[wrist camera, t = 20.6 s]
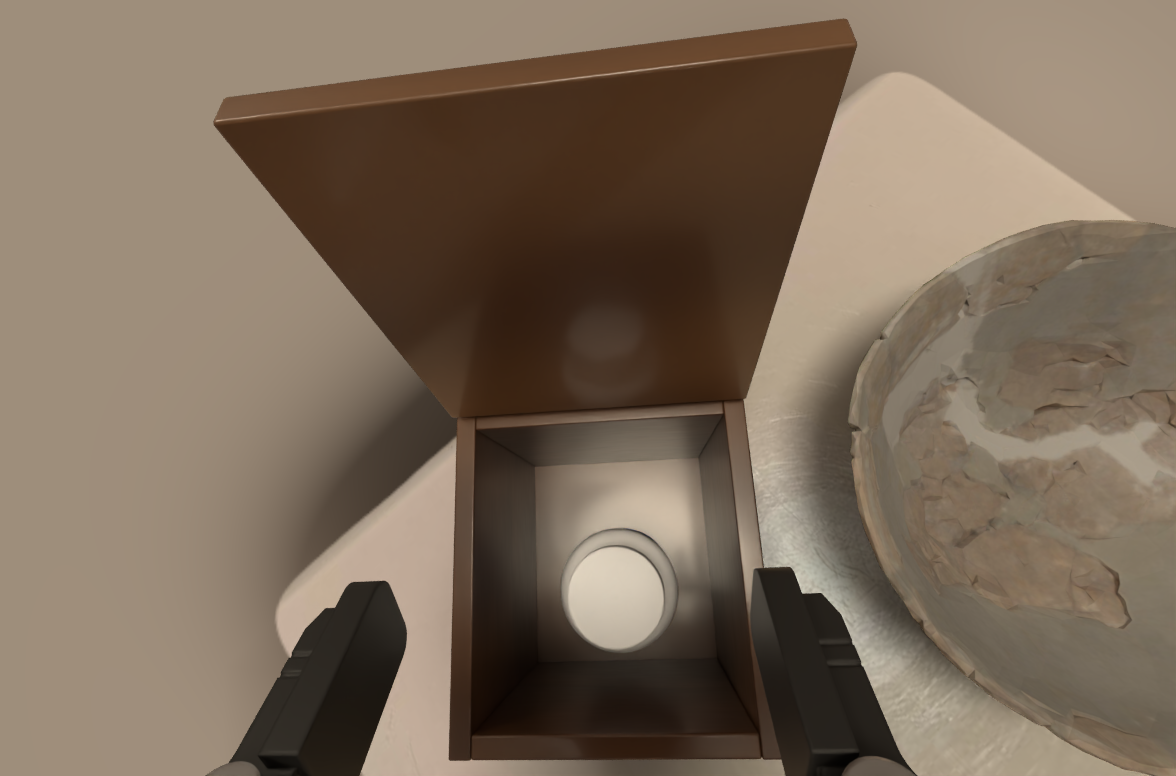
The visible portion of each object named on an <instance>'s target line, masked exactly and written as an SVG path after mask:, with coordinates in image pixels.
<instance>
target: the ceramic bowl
mask: <svg viewBox="0 0 1176 776" xmlns="http://www.w3.org/2000/svg"><path fill="white" fill-rule="evenodd" d="M848 424H849V426H850V428H852V429H854V432H852V439H851V449H850V453H851V456H852V458H853V459H852V460H851V463H852V469H853V475H854V484H855V491H856V497H857V503H858V509H859V512H860V516H861V519H862V523H863V526H864V529H865V533H866V535H867V537H868V540H869V542H870V544H871V547H872V549H873V551H874V554H875V556H876V559H877V561H878V563H879V566H880V568H881V569H882V571H883V572H884V573H885V574H886V576H887V577H888V580H889V582H890V584H891V585H892V586H893V588H894V589H895V590H896V592H897V593H898V595H899V596H900V597H901V599H902V600H903V601H904V603H905V605H906V606H907V608H908V610H909V612H910V614H911V615H912V617H913V618H914V619H915V620H916V621H917V622H918V623H919V625H920V626H921V628H922V629H923V631H924V632H925V634H926V635H927V636H928V637H929V638H930V639H931V640H932V641H933V642H934V643H935V645H936V646H937V647H938V648H939V650H940V651H941V652H942V654H943V655H944V656H945V657H946V658H947V659H948V660H949V661H950V662H951V663H952V664H954V665H955V666H956V667H957V668H958V669H959V670H960V671H961V672H962V673H963V674H964V675H965V676H967V677H969V678H970V679H971V680H972V681H974V682H975V683H976V684H977V685H978V686H980V687H981V688H982V689H983V690H985V691H986V692H987V693H988V694H989V695H991V696H992V697H993V698H994V699H996V700H997V701H999V702H1001V703H1002V704H1004V705H1006V706H1007V707H1009V708H1010V709H1012V710H1014V711H1015V712H1017V713H1019V714H1020V715H1022V716H1024V717H1026V718H1027V719H1029V720H1031V721H1032V722H1034V723H1036V724H1038V725H1040V726H1044V727H1046V728H1047V729H1049V730H1050V731H1051V732H1052V733H1054V734H1055V735H1056V736H1058V737H1059V738H1061V739H1062V740H1064V741H1066V742H1068V743H1069V744H1071V745H1073V746H1075V747H1076V748H1078V749H1080V750H1082V751H1083V752H1086V753H1088V754H1090V755H1092V756H1095V757H1097V758H1099V759H1102V760H1104V761H1106V762H1108V763H1111V764H1113V765H1115V766H1118V767H1120V768H1122V769H1125V770H1131V771H1137V772H1141V773H1144V774H1148V775H1152V776H1176V228H1173V227H1168V226H1164V225H1159V224H1155V223H1147V222H1137V221H1120V220H1105V221H1078V220H1070V221H1064V222H1059V223H1053V224H1047V225H1042V226H1039V227H1036V228H1033V229H1029V230H1026V231H1023V232H1020V233H1017V234H1014V235H1012V236H1009V237H1006V238H1004V239H1001V240H999V241H997V242H995V243H993V244H991V245H989V246H987V247H985V248H983V249H981V250H978V251H976V252H974V253H972V254H970V255H968V256H966V257H964V258H962V259H961V260H959V261H958V262H956V263H955V264H953V265H952V266H950V267H948V268H947V269H945V270H944V271H943V272H941V273H940V274H939V275H937V276H936V277H934V278H933V279H932V280H930V281H929V282H927V283H925V284H924V285H923V286H922V287H921V288H919V289H918V290H917V291H916V292H915V293H914V294H913V295H912V296H911V298H910V299H909V300H908V301H907V302H906V303H905V304H904V305H903V306H902V307H901V308H900V309H899V310H898V311H897V312H896V314H895V315H894V316H893V317H892V318H891V320H890V321H889V322H888V324H887V325H886V326H885V328H884V329H883V330H882V332H881V338H880V340H875V341H874V343H873V344H872V346H871V348H870V349H869V351H868V352H867V354H866V356H865V357H864V359H863V361H862V362H861V365H860V367H859V370H858V373H857V377H856V381H855V385H854V389H853V393H852V397H851V402H850V408H849V416H848Z"/></svg>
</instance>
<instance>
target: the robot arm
mask: <svg viewBox="0 0 1176 776" xmlns="http://www.w3.org/2000/svg"><path fill="white" fill-rule="evenodd" d="M750 623H751V633H752V639H753V645H754V649H755V653H756V657H757V661H758V665H759V669H760V673H761V678H762V682H763V686H764V690H765V694H766V698H767V702H768V706H769V710H770V714H771V718H772V722H773V726H774V730H775V735H776V739H777V743H778V747H779V751H780V755H781V759H782V763H783V767H784V771H785V775H786V776H917V775H916V774H915V773H914V772H913V771H912V769H911V768H910V767H909V766H908V764H907V763H906V762H905V760H904V758H903V757H902V755H901V754H900V752H899V750H898V748H897V745H896V743H895V741H894V738H893V736H892V734H891V731H890V729H889V726H888V724H887V722H886V719H885V717H884V715H883V712H882V710H881V708H880V705H879V703H878V700H877V698H876V696H875V693H874V691H873V689H872V686H871V684H870V682H869V679H868V677H867V674H866V672H865V670H864V667H862V665H861V660H860V658H859V656H858V653H857V651H856V648H855V646H854V645H853V644H852V639H851V637H850V634H849V632H848V630H847V627H846V625H845V623H844V620H843V618H842V615H841V614H840V613H839V612H838V611H837V610H836V608H835V607H834V606H833V605H832V604H831V603H830V602H829V601H828V600H827V599H826V598H825V597H824V595H823V594H822V593H812V594H802V593H801V590H800V587H799V584H798V582H797V579H796V576H795V574H794V571H793V570H792V568H791V567H775V568H755V569H754V571H753V581H752V596H751V611H750ZM406 640H407V631H406V625H405V622H404V619H403V617H402V614H401V612H400V609H399V607H398V604H397V602H396V599H395V597H394V595H393V592H392V590H391V587H390V585H389V583H388V582H386V581H369V582H352V583H350V584H349V585H348V586H347V587H346V588H345V590H344V592H343V594H342V596H341V598H340V599H339V601H338V603H337V605H336V607H335V608H325V609H324V610H323V611H322V613H321V614H320V615H319V616H318V617H317V618H316V619H315V620H314V621H313V622H312V623H311V624H310V625H309V626H308V627H307V628H306V629H305V630H304V632H303V634H302V636H301V637H300V639H299V641H298V643H297V644H296V646H295V648H294V650H293V652H292V656H291V658H289V659H288V660H287V662H286V664H285V666H284V668H283V669H282V671H281V676H280V678H277V680H276V682H275V683H274V686H273V687H272V689H271V691H270V693H269V694H268V696H267V698H266V699H265V701H264V703H263V705H262V707H261V708H260V710H259V712H258V714H257V715H256V718H255V719H254V721H253V723H252V724H251V726H250V728H249V730H248V731H247V733H246V735H245V737H244V739H243V740H242V742H241V744H240V746H239V748H238V749H237V751H236V753H235V754H234V756H233V757H232V759H231V760H230V761H229V763H228V764H225V765H223V766H221V767H219V768H217V769H215V770H213V771H212V772H210V773H209V774H207V775H206V776H359V775H360V772H361V770H362V767H363V764H364V762H365V759H366V756H367V753H368V751H369V748H370V745H371V742H372V740H373V737H374V734H375V732H376V729H377V726H378V723H379V721H380V718H381V715H382V712H383V710H384V707H385V704H386V702H387V699H388V696H389V693H390V691H391V688H392V685H393V682H394V680H395V677H396V674H397V672H398V669H399V666H400V663H401V661H402V658H403V655H404V652H405V648H406Z"/></svg>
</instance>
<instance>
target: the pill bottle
mask: <svg viewBox="0 0 1176 776" xmlns="http://www.w3.org/2000/svg"><path fill="white" fill-rule="evenodd" d="M677 599H678V588H677V579H676V575H675V571H674V568H673V566H672V564H671V562H670V560H669V558H668V557H667V555H666V554H665V552H664V551H663V550H662V549H661V547H660V546H659V545H658V544H657V542H655V541H654V540H653V539H652V538H651V537H649V536H648V535H646V534H644V533H642V532H639V531H637V530H633V529H626V528H614V529H607V530H603V531H600V532H597V533H595V534H593V535H591V536H589V537H588V538H586V539H585V540H584V541H583V542H581V543H580V544H579V545H578V546H577V547H576V548H575V550H574V551H573V552H572V554H571V555H570V557H569V558H568V560H567V562H566V565H565V567H564V570H563V574H562V579H561V600H562V605H563V608H564V611H565V614H566V617H567V619H568V621H569V623H570V624H571V626H572V627H573V628H574V630H575V631H576V632H577V633H578V634H579V635H580V636H581V637H582V638H583V639H584V640H585V641H586V642H588V643H589V644H591V645H593V646H594V647H597V648H599V649H601V650H604V651H608V652H613V653H627V652H633V651H637V650H640V649H642V648H644V647H646V646H648V645H650V644H651V643H653V642H654V641H656V640H657V639H658V638H659V637H660V636H661V635H662V634H663V633H664V631H665V630H666V629H667V627H668V626H669V624H670V622H671V620H672V618H673V616H674V613H675V610H676V605H677Z"/></svg>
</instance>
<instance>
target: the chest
mask: <svg viewBox="0 0 1176 776" xmlns="http://www.w3.org/2000/svg"><path fill="white" fill-rule="evenodd" d="M614 528H626V529H633V530H637V531H639V532H642V533H644V534H646V535H648V536H649V537H651V538H652V539H653V540H654V541H655V542H657V544H658V545H659V546H660V547H661V549H662V550H663V551H664V552H665V554H666V555H667V557H668V558H669V560H670V562H671V564H672V566H673V568H674V571H675V575H676V579H677V588H678V599H677V605H676V610H675V613H674V616H673V618H672V620H671V622H670V624H669V626H668V627H667V629H666V630H665V631H664V633H663V634H662V635H661V636H660V637H659V638H658V639H657V640H656V641H654V642H653V643H651V644H650V645H648V646H646V647H644V648H642V649H640V650H637V651H633V652H627V653H613V652H608V651H604V650H601V649H599V648H597V647H594V646H593V645H591V644H589V643H588V642H586V641H585V640H584V639H583V638H582V637H581V636H580V635H579V634H578V633H577V632H576V631H575V630H574V628H573V627H572V626H571V624H570V623H569V621H568V619H567V617H566V614H565V611H564V608H563V605H562V600H561V579H562V574H563V570H564V567H565V565H566V562H567V560H568V558H569V557H570V555H571V554H572V552H573V551H574V550H575V548H576V547H577V546H578V545H579V544H580V543H581V542H583V541H584V540H585V539H586V538H588V537H589V536H591V535H593V534H595V533H597V532H600V531H603V530H607V529H614ZM755 568H764V565H763V557H762V548H761V540H760V532H759V524H758V516H757V507H756V499H755V491H754V483H753V474H752V466H751V458H750V450H749V441H748V433H747V425H746V417H745V408H744V400H743V399H732V400H717V401H702V402H686V403H671V404H656V405H640V406H625V407H610V408H594V409H579V410H564V411H548V412H533V413H518V414H502V415H487V416H472V417H457V447H456V488H455V528H454V568H453V609H452V649H451V689H450V730H449V760H450V761H469V760H471V758H472V760H652V759H761V757H762V758H763V759H764V760H771V759H781V755H780V751H779V747H778V743H777V739H776V735H775V730H774V726H773V722H772V718H771V714H770V710H769V706H768V702H767V698H766V694H765V690H764V686H763V682H762V678H761V673H760V669H759V665H758V661H757V657H756V653H755V649H754V645H753V639H752V633H751V623H750V611H751V596H752V581H753V571H754V569H755Z"/></svg>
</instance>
